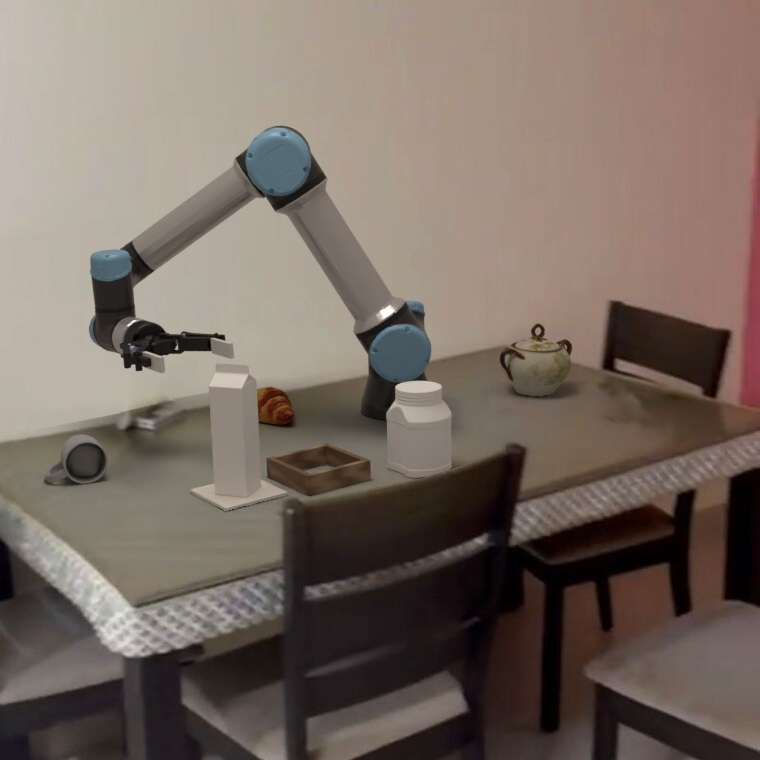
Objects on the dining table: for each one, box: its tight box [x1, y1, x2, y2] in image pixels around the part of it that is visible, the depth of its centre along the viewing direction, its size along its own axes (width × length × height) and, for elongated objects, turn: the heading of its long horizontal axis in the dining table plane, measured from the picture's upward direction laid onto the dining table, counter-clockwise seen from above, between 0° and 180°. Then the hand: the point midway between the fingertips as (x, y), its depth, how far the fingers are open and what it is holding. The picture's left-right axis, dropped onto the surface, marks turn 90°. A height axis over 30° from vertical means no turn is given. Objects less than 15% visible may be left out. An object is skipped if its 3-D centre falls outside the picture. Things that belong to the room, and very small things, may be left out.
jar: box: [386, 380, 453, 479], centre depth 221 cm, size 12×10×15 cm
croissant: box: [257, 386, 295, 425], centre depth 256 cm, size 21×10×8 cm, turn 35°
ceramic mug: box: [43, 434, 109, 485], centre depth 220 cm, size 11×8×8 cm
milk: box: [208, 362, 262, 498], centre depth 208 cm, size 6×6×22 cm
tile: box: [189, 479, 289, 512], centre depth 211 cm, size 12×12×1 cm
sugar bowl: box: [499, 323, 573, 397], centre depth 270 cm, size 20×15×15 cm
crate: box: [266, 443, 372, 497], centre depth 218 cm, size 13×13×4 cm
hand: (197, 358), depth 216 cm, fingers open, 13 cm apart
